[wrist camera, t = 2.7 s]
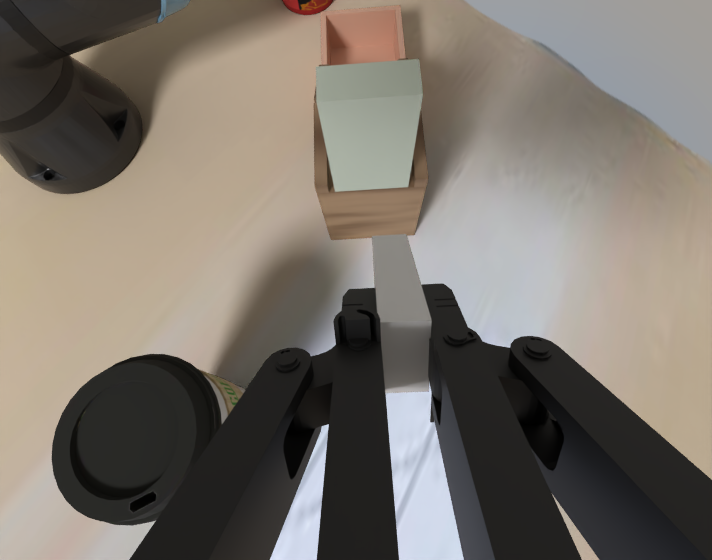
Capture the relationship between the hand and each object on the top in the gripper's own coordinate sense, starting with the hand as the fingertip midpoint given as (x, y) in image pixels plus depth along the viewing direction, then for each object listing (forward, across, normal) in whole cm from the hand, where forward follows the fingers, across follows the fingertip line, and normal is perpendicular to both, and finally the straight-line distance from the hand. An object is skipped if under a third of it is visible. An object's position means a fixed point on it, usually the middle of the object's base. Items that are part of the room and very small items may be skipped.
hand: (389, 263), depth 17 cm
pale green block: (+16, 0, 0) cm, 16 cm away
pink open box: (+37, 0, +7) cm, 38 cm away
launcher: (+28, 0, -2) cm, 28 cm away
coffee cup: (+10, -16, -20) cm, 28 cm away
